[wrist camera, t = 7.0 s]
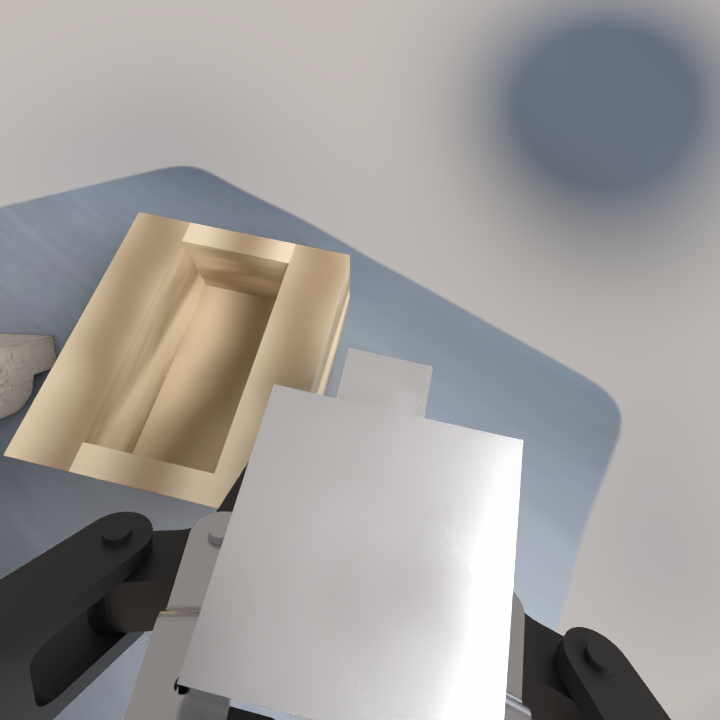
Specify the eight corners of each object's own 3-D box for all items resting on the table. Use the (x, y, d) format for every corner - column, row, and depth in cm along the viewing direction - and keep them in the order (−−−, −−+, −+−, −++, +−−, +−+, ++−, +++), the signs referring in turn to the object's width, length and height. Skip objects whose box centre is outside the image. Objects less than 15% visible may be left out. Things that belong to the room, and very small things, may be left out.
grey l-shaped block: (292, 579, 17) (177, 684, 5) (348, 360, 21) (356, 127, 9) (388, 602, 17) (499, 769, 5) (426, 377, 21) (542, 163, 9)
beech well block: (75, 472, 26) (3, 455, 21) (174, 267, 32) (139, 212, 27) (289, 524, 25) (272, 522, 20) (349, 304, 32) (349, 255, 26)
